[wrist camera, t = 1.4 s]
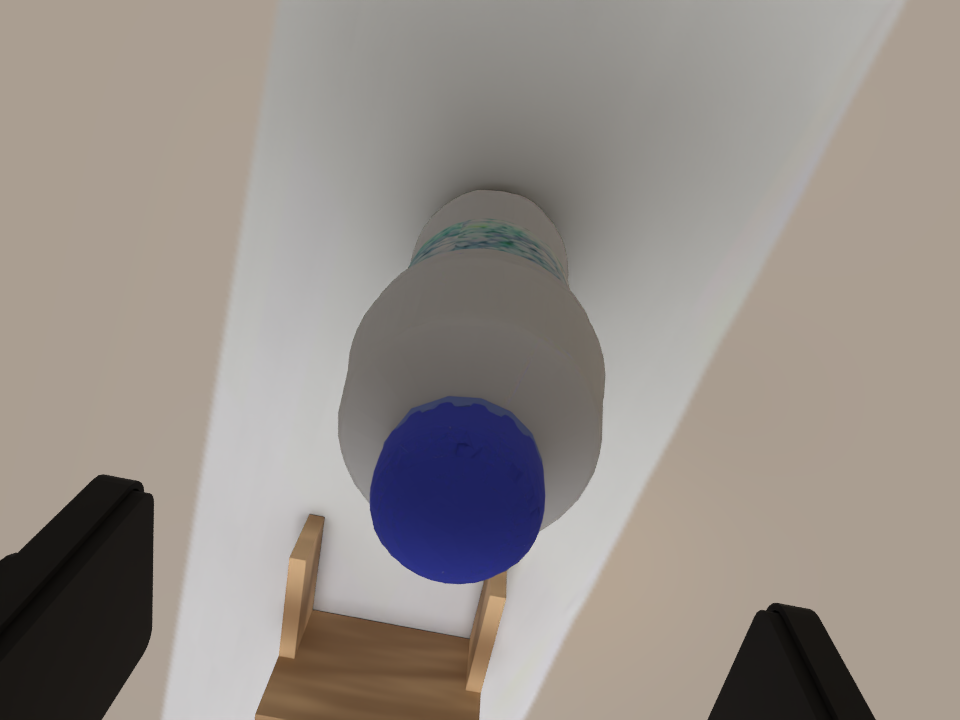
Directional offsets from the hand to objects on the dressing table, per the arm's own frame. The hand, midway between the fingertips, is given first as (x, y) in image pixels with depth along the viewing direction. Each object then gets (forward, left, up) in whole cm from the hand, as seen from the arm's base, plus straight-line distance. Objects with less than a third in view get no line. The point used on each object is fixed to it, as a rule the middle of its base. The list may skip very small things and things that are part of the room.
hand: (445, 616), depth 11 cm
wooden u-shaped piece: (+19, -1, -22) cm, 29 cm away
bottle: (0, 0, -22) cm, 22 cm away
